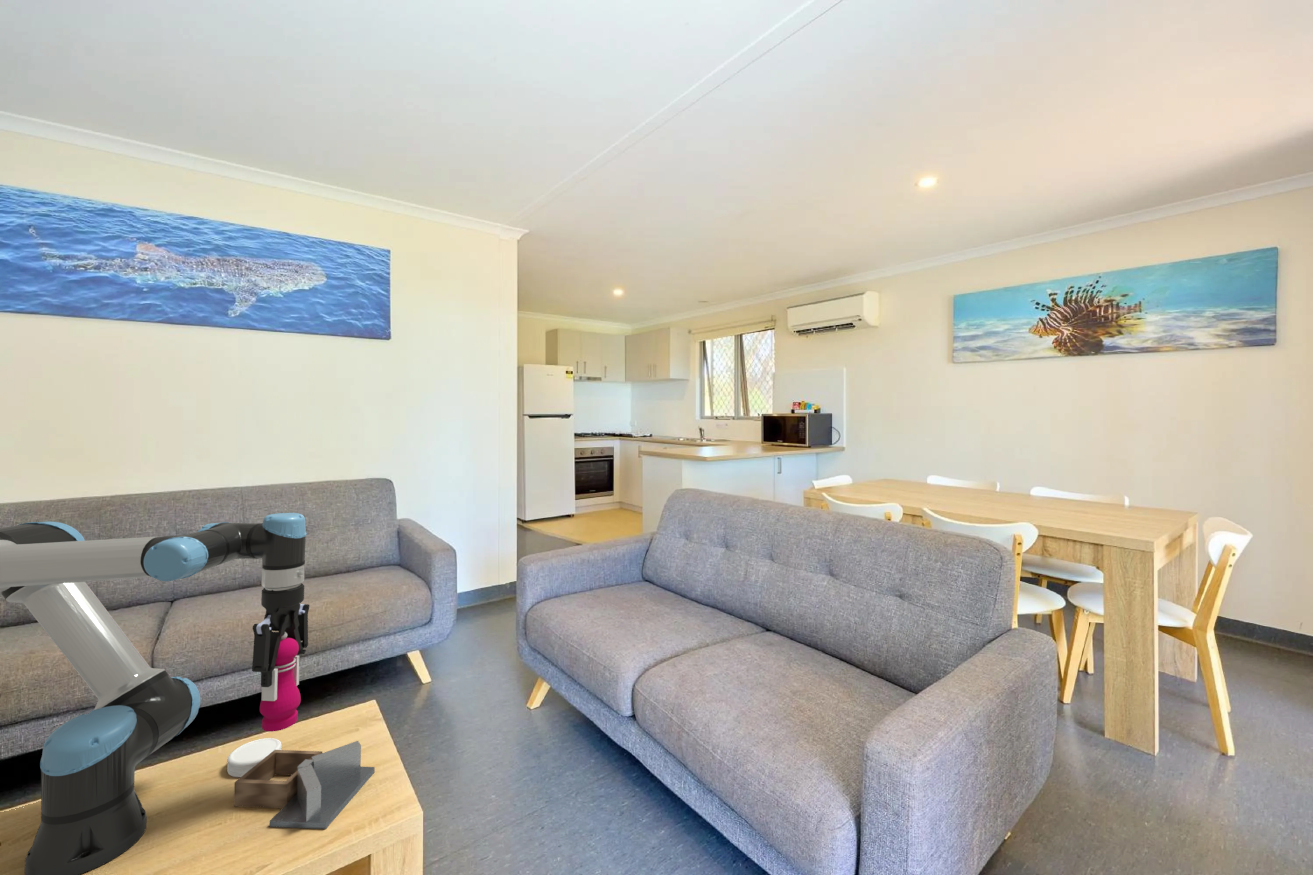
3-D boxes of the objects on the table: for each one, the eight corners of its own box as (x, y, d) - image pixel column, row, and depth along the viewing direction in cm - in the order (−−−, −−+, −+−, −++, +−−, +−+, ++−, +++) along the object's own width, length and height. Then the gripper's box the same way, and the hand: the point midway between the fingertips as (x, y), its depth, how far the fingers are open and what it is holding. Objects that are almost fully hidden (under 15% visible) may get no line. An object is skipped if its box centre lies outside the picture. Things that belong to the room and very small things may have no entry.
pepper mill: (278, 735, 108) (281, 639, 108) (250, 730, 109) (252, 636, 109) (308, 717, 115) (310, 627, 115) (281, 712, 116) (283, 623, 116)
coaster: (292, 753, 125) (292, 739, 125) (254, 781, 115) (254, 765, 115) (255, 749, 126) (255, 734, 126) (215, 775, 116) (215, 760, 116)
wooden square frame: (234, 806, 107) (234, 782, 107) (274, 771, 118) (274, 749, 118) (286, 808, 107) (287, 784, 107) (322, 773, 118) (322, 751, 118)
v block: (325, 828, 101) (326, 792, 101) (269, 826, 102) (270, 790, 102) (374, 772, 118) (375, 740, 118) (326, 770, 119) (326, 739, 119)
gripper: (267, 600, 102) (264, 716, 103) (328, 574, 121) (326, 672, 121) (229, 598, 103) (226, 714, 103) (297, 573, 121) (294, 671, 122)
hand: (280, 691), depth 112 cm, fingers closed on pepper mill, 6 cm apart
